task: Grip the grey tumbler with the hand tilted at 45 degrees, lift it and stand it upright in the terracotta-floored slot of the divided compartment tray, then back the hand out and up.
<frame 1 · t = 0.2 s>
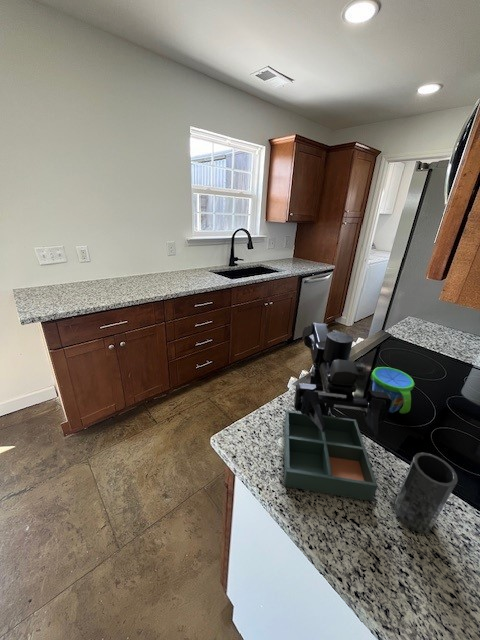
hand: (349, 433, 48), 17 cm above the worktop, tool horizontal, fingers open, 9 cm apart
snack cup: (384, 405, 80), on the worktop
divided compartment tray: (321, 456, 63), on the worktop
grey tumbler: (412, 514, 51), on the worktop
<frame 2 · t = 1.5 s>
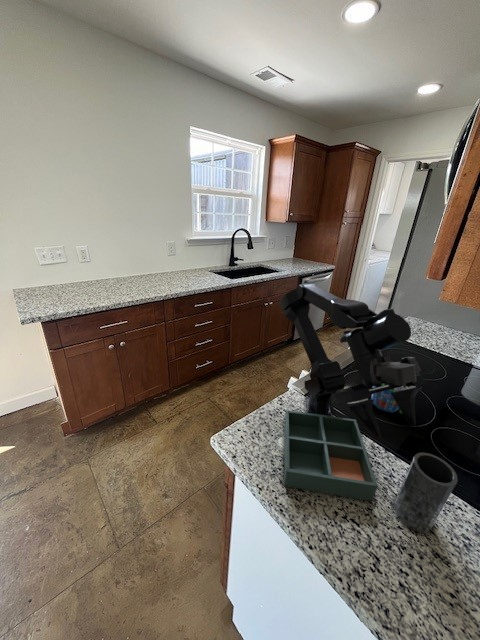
hand: (396, 431, 53), 14 cm above the worktop, tool tilted 45°, fingers open, 9 cm apart
nothing on the worktop moved.
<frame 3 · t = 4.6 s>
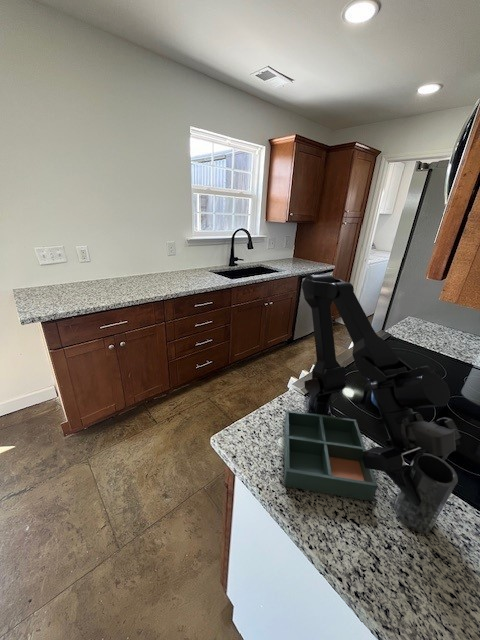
hand: (430, 499, 48), 7 cm above the worktop, tool tilted 45°, fingers closed on grey tumbler, 6 cm apart
grey tumbler: (412, 514, 51), on the worktop, touching gripper
everything else where it was.
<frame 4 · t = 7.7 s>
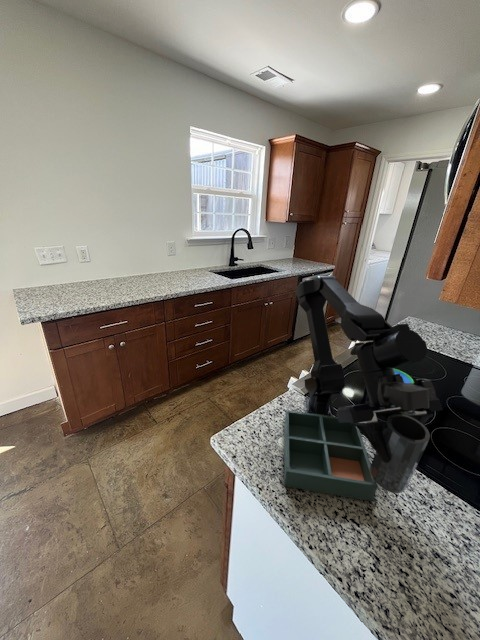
hand: (402, 459, 47), 13 cm above the worktop, tool tilted 45°, fingers closed on grey tumbler, 6 cm apart
grey tumbler: (388, 476, 51), point 7 cm above the worktop, touching gripper
everything else where it was.
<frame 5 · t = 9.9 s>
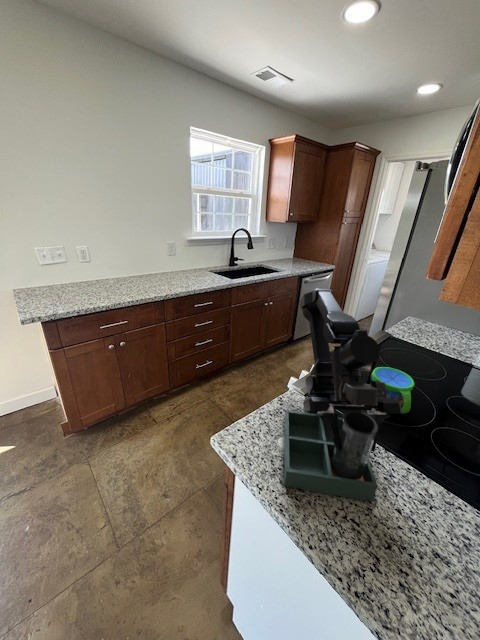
hand: (355, 450, 53), 9 cm above the worktop, tool tilted 45°, fingers closed on grey tumbler, 6 cm apart
grey tumbler: (346, 466, 57), point 3 cm above the worktop, touching gripper
everything else where it was.
when the fingers open (7 cm above the worktop, at t = 11.1 s): grey tumbler stays where it is, resting on divided compartment tray.
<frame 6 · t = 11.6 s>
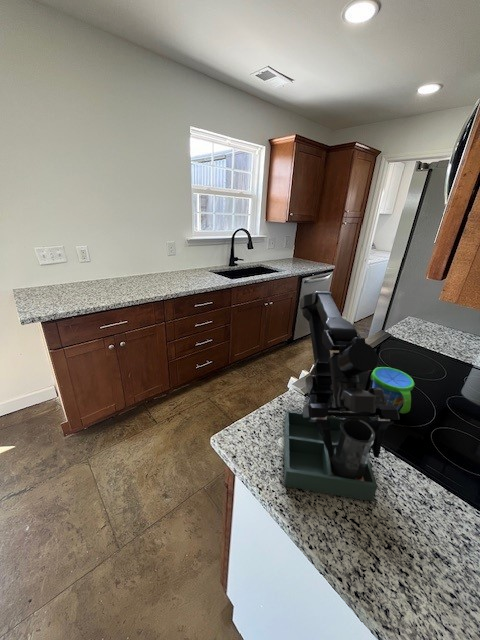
hand: (354, 457, 54), 8 cm above the worktop, tool tilted 45°, fingers open, 9 cm apart
grey tumbler: (344, 473, 58), point 1 cm above the worktop, touching divided compartment tray
everything else where it was.
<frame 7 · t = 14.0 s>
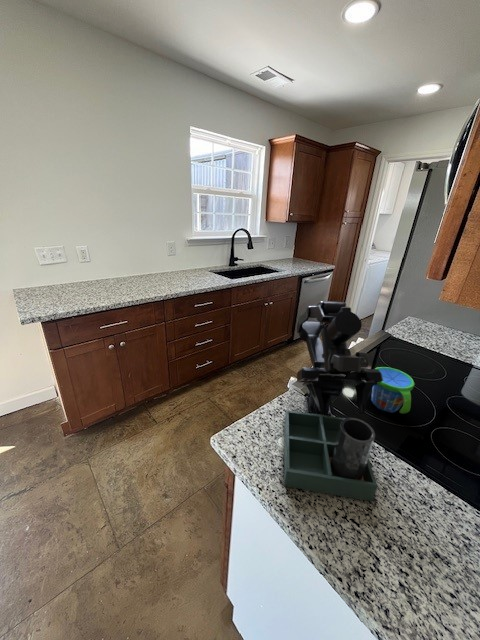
hand: (342, 414, 60), 11 cm above the worktop, tool tilted 45°, fingers open, 9 cm apart
nothing on the worktop moved.
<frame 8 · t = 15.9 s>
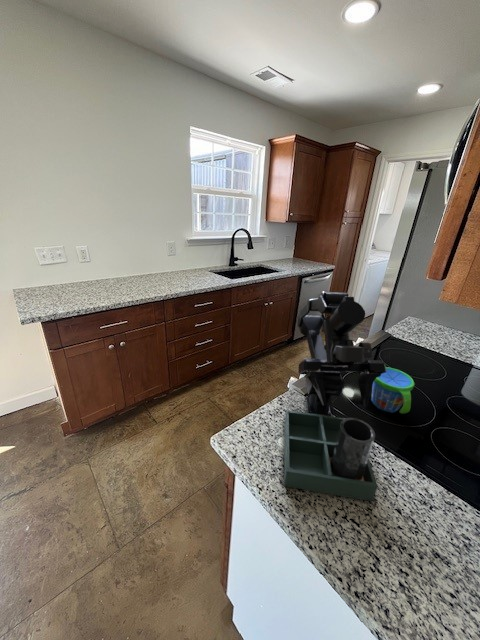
hand: (344, 406, 59), 14 cm above the worktop, tool tilted 45°, fingers open, 9 cm apart
nothing on the worktop moved.
at the end: grey tumbler 0.1 cm from the target spot in the divided compartment tray, point 0.8 cm above the divided compartment tray's base; grey tumbler tilted 0°; the gripper is holding nothing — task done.
